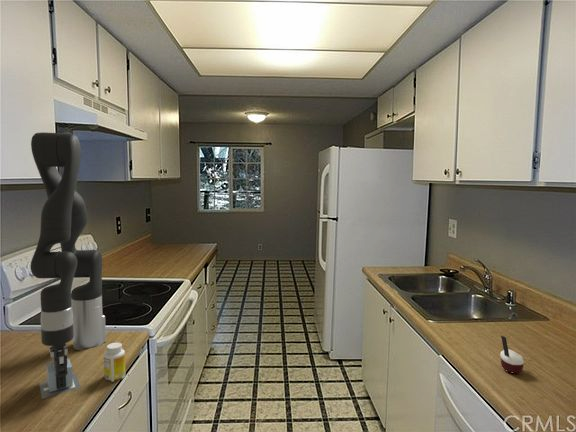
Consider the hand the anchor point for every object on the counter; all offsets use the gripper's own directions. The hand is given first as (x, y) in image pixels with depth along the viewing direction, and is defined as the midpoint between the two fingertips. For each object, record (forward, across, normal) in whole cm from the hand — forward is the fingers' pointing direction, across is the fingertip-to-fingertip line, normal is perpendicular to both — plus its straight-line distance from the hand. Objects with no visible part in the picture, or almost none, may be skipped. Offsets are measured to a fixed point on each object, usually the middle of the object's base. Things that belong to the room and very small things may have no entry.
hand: (59, 382), depth 104 cm
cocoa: (+2, -69, -116) cm, 135 cm away
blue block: (0, 0, 0) cm, 0 cm away
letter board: (+2, 0, 0) cm, 2 cm away
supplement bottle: (+2, -4, -13) cm, 14 cm away
